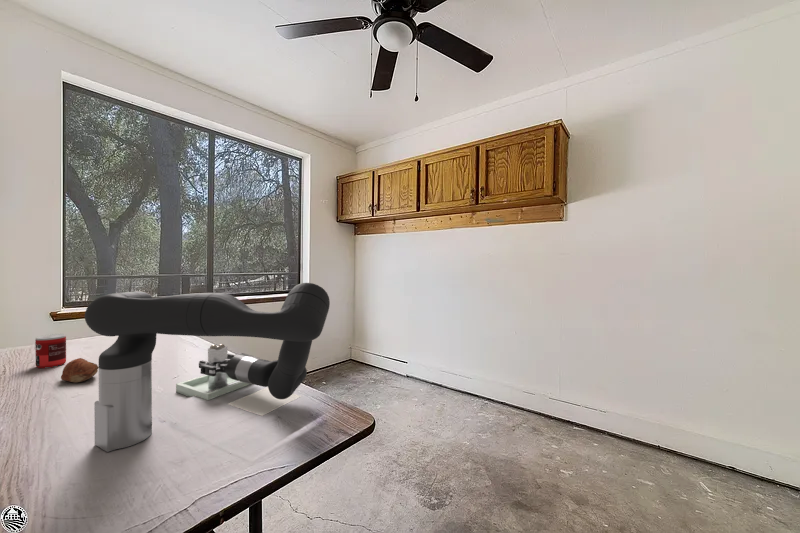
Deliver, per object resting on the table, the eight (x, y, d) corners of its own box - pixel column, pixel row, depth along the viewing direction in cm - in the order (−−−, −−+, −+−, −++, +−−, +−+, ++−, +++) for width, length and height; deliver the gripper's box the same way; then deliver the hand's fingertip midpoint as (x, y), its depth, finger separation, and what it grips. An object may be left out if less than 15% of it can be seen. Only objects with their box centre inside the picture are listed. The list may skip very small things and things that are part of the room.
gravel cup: (214, 390, 100) (214, 347, 100) (204, 386, 103) (204, 345, 102) (231, 384, 105) (231, 343, 105) (220, 381, 107) (220, 341, 107)
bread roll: (56, 368, 110) (76, 343, 111) (86, 372, 117) (105, 349, 118) (54, 392, 102) (76, 365, 103) (87, 395, 108) (107, 370, 109)
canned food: (42, 363, 125) (42, 334, 125) (70, 361, 128) (70, 333, 128) (30, 369, 118) (30, 339, 118) (60, 367, 122) (60, 337, 121)
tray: (207, 403, 93) (207, 394, 93) (176, 392, 100) (176, 383, 100) (256, 384, 107) (256, 377, 107) (225, 376, 115) (225, 368, 115)
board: (261, 419, 84) (261, 415, 84) (226, 407, 91) (226, 403, 91) (301, 399, 96) (301, 396, 96) (268, 390, 103) (268, 386, 103)
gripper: (267, 350, 103) (234, 343, 111) (225, 362, 91) (190, 354, 98) (267, 374, 103) (234, 365, 111) (225, 389, 91) (190, 379, 98)
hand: (213, 360), depth 105 cm, fingers open, 8 cm apart
